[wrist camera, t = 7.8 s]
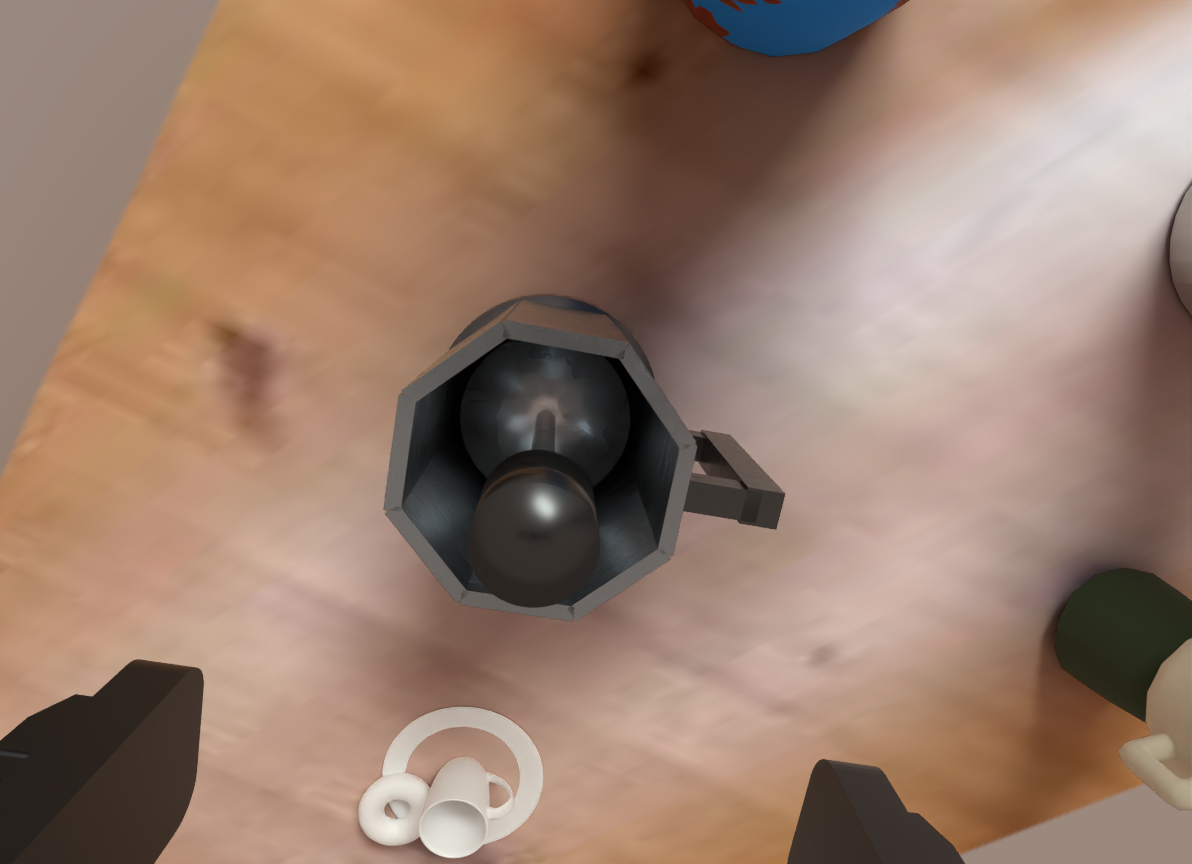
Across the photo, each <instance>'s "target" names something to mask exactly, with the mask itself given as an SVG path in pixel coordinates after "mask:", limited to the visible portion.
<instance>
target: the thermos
mask: <svg viewBox="0 0 1192 864" xmlns="http://www.w3.org/2000/svg"><path fill="white" fill-rule="evenodd" d="M684 1H685V2H686V4H687V5H688V7H689V8H690V10H691V12H692V13H693V15H694V16H695V18H697V19H698V20H699V21H701V22H702V23H703V24H705V25H706V26H707V27H708V28H710V29H711V30H712V31H714V32H715V33H716V34H718V35H719V36H720V37H722V38H723V39H724V40H726V41H727V42H728V43H730V44H731V45H733V46H737V47H741V48H744V49H748V50H751V51H755V52H758V53H762V54H766V55H769V56H773V57H777V56H785V55H794V54H803V53H812V52H818V51H820V50H822V49H824V48H826V47H828V46H830V45H832V44H834V43H836V42H838V41H840V40H842V39H844V38H845V37H847V36H849V35H851V34H853V33H855V32H857V31H859V30H861V29H862V28H864V27H866V26H867V25H869V24H871V23H873V22H874V21H876V20H878V19H880V18H881V17H883V16H885V15H886V14H888V13H890V12H892V11H893V10H895V9H897V8H898V7H900V6H902V5H903V4H905V3H906V2H907V1H909V0H684Z"/></svg>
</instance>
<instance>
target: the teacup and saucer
mask: <svg viewBox="0 0 1192 864" xmlns="http://www.w3.org/2000/svg"><path fill="white" fill-rule="evenodd" d="M452 727H472V728H478V729H481V730H484V731H487V732H489V733H491V734H493V735H495V736H497V737H498V738H500V739H501V740H502V741H503V742H504V743H505V744H506V745H507V746H508V747H509V748H510V749H511V751H512V752H513V754H514V755H515V757H516V759H517V762H518V765H519V770H520V784H519V788H518V791H517V794H516V796H515V798H514V795H513V792H512V789H511V788H510V786H509V785H508V784H507V782H505V781H504V780H503V779H502V778H500V777H498V776H496V775H494V774H491V773H488V772H486V771H485V769H484V768H483V767H482V765H481V764H480V763H479V762H478V761H476V760H475V759H473V758H470V757H457V758H454V759H452V760H450V761H448V762H447V763H446V764H445V765H444V766H443V767H442V768H441V769H440V771H439V772H438V774H437V775H436V777H435V779H434V781H433V783H432V786H431V788H430V787H429V786H428V784H427V783H426V782H425V781H424V780H422V779H421V778H419V777H417V776H415V775H412V774H409V773H406V766H407V763H408V760H409V758H410V756H411V754H412V752H413V751H414V749H415V748H416V747H417V746H418V745H419V744H420V743H421V742H422V741H423V740H424V739H425V738H427V737H428V736H430V735H432V734H434V733H436V732H438V731H441V730H444V729H447V728H452ZM489 782H492V783H495V784H497V785H499V786H501V787H502V788H503V789H505V790H506V792H507V793H508V795H509V800H508V801H507V802H506V803H505V804H504V805H502V806H501V807H498V808H492V807H490V792H489ZM542 787H543V767H542V762H541V758H540V756H539V753H538V751H537V749H536V747H535V745H534V743H533V742H532V740H531V739H530V738H529V736H528V735H527V734H526V733H525V732H524V731H523V730H522V729H521V728H520V727H519V726H518V725H516V724H515V723H514V722H512V721H511V720H509V719H507V718H506V717H504V716H502V715H500V714H497V713H495V712H492V711H489V710H485V709H481V708H476V707H449V708H443V709H439V710H436V711H433V712H430V713H427V714H425V715H423V716H421V717H419V718H417V719H416V720H414V721H413V722H411V723H410V724H409V725H407V726H406V727H405V728H404V729H403V730H402V731H401V732H400V733H399V734H398V735H397V736H396V738H395V739H394V740H393V742H392V744H391V745H390V747H389V749H388V751H387V753H386V756H385V759H384V763H383V769H382V777H381V778H380V779H378V780H377V781H375V782H374V783H373V784H372V785H371V786H370V787H369V788H368V789H367V790H366V792H365V793H364V795H363V796H362V798H361V801H360V803H359V807H358V818H359V823H360V826H361V828H362V830H363V831H364V833H365V834H366V835H367V836H368V837H369V838H370V839H371V840H373V841H375V842H377V843H379V844H382V845H386V846H398V845H404V844H407V843H410V842H412V841H414V840H416V839H417V838H419V837H420V838H421V840H422V842H423V844H424V845H425V846H426V847H427V848H428V849H429V850H430V851H432V852H433V853H435V854H437V855H439V856H442V857H446V858H461V857H465V856H468V855H470V854H472V853H474V852H475V851H477V850H478V849H479V848H480V847H481V846H482V845H484V844H488V843H491V842H494V841H497V840H499V839H501V838H503V837H505V836H507V835H509V834H510V833H512V832H513V831H515V830H516V829H517V828H519V827H520V826H521V825H522V824H523V823H524V822H525V821H526V820H527V819H528V818H529V816H530V815H531V814H532V812H533V811H534V809H535V807H536V805H537V803H538V801H539V798H540V795H541V792H542ZM387 803H388V804H389V806H390V808H391V810H392V811H393V813H394V814H395V815H396V817H397V818H398V819H393V818H390V817H387V815H385V811H384V808H385V806H386V804H387ZM489 820H490V821H489Z"/></svg>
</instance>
